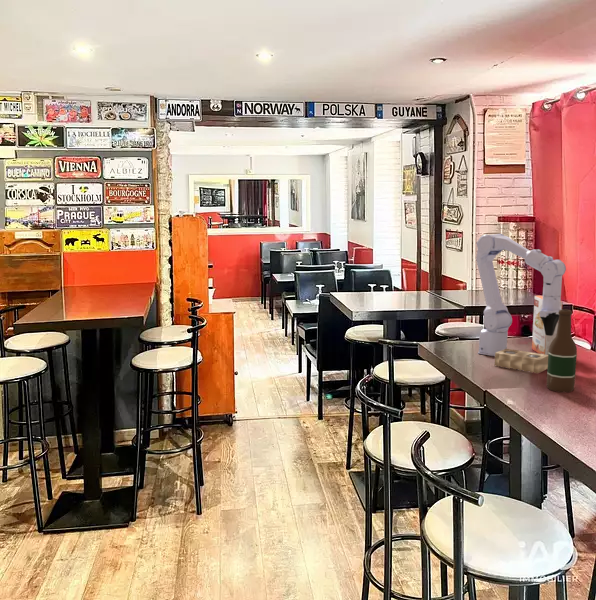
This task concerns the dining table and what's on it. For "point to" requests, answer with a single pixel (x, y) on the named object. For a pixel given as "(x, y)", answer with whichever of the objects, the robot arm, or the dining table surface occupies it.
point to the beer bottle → (562, 356)
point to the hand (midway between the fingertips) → (549, 335)
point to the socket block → (521, 360)
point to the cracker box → (541, 329)
